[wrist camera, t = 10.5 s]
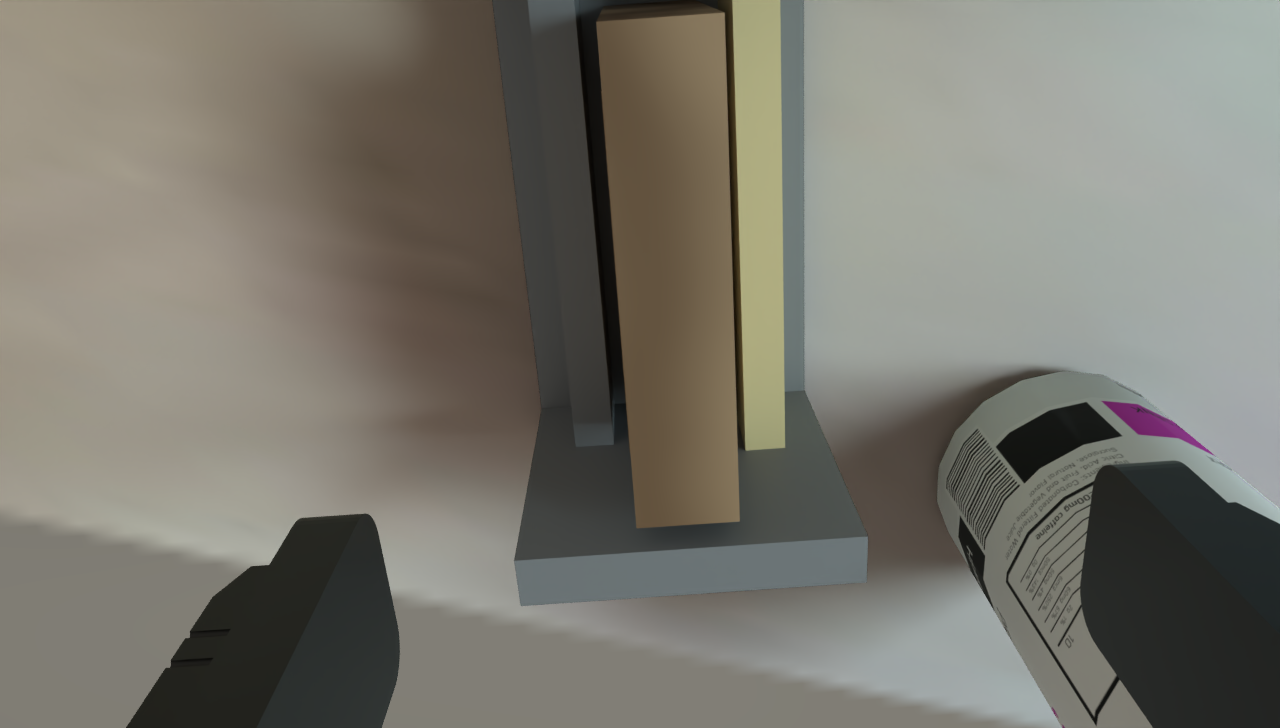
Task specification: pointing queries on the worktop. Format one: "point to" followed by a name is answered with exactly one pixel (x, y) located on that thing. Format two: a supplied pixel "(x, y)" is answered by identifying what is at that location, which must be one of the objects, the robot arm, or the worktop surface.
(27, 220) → the worktop surface
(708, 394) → the door panel
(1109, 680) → the supplement can
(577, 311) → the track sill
